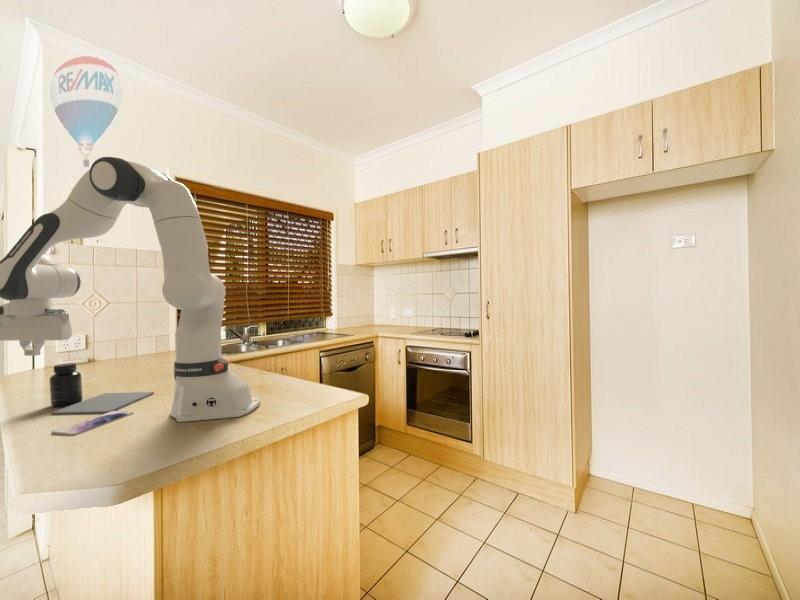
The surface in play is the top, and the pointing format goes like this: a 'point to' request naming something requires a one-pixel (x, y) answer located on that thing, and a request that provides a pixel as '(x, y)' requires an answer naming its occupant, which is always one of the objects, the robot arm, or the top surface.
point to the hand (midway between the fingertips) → (32, 355)
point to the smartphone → (91, 423)
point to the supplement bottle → (65, 386)
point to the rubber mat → (103, 403)
